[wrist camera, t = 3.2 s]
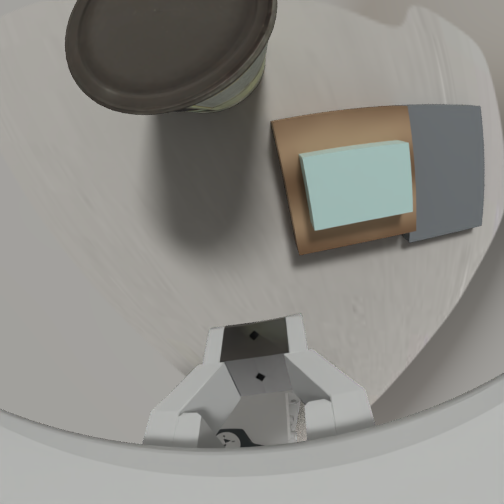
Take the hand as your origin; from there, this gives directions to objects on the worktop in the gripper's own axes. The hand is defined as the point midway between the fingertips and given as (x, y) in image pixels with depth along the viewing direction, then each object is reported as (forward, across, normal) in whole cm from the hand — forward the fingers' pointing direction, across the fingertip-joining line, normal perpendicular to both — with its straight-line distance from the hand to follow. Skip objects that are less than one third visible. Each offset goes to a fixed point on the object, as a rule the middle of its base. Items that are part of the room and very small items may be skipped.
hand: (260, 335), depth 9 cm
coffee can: (+20, -2, +13) cm, 23 cm away
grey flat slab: (+19, +20, -1) cm, 28 cm away
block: (+16, +8, 0) cm, 18 cm away
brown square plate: (+19, +8, 0) cm, 21 cm away
